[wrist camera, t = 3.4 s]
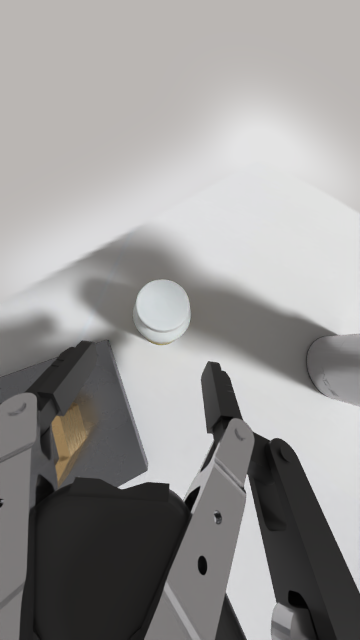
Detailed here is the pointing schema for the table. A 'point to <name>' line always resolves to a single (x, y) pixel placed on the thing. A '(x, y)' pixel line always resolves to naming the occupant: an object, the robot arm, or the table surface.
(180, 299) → the supplement bottle
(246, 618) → the table surface
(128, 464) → the collar plate
